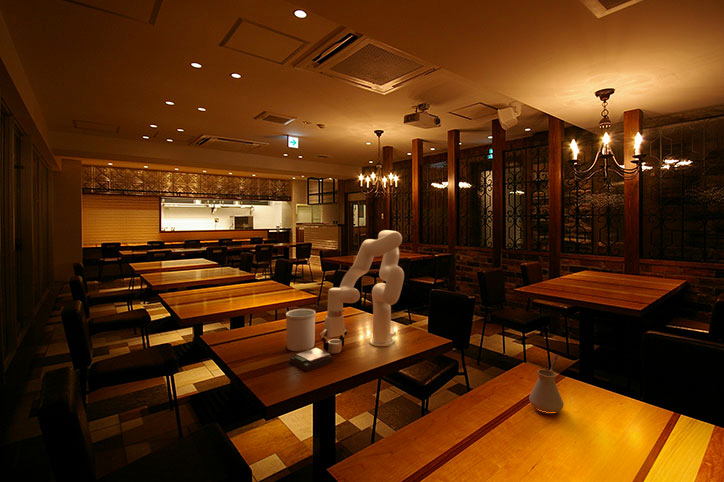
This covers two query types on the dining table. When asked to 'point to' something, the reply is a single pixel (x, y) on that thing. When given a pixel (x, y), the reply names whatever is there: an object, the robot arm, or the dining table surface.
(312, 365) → the scale
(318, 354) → the scale pan
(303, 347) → the utensil holder
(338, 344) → the bowl
